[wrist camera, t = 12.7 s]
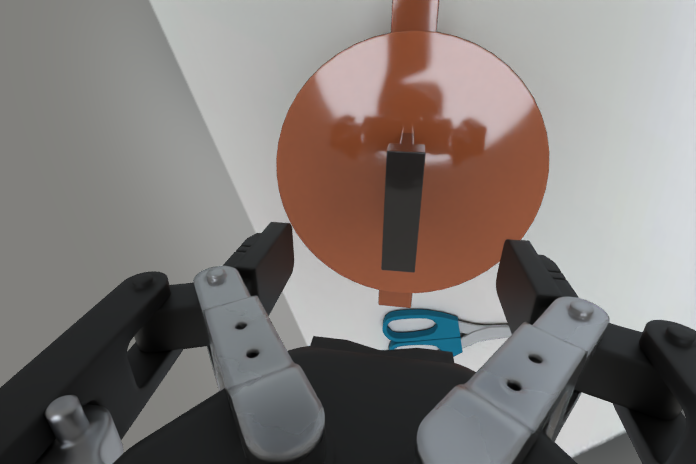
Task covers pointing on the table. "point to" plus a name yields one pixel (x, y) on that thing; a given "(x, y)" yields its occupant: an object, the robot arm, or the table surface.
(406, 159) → the lid
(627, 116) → the table surface
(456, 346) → the scissors
